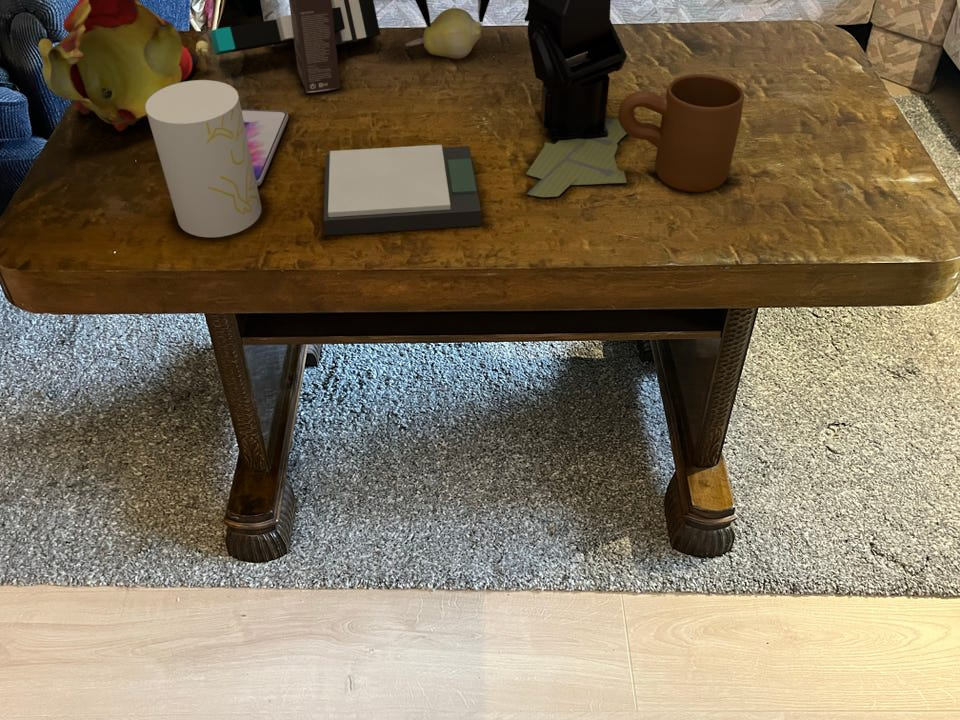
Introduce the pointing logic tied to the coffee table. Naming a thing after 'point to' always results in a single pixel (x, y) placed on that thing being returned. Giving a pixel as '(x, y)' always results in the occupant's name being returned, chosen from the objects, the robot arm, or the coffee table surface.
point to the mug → (689, 129)
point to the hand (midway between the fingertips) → (454, 23)
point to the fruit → (450, 34)
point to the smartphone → (263, 137)
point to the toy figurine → (192, 58)
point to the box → (315, 44)
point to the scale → (399, 189)
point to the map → (578, 162)
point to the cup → (205, 157)
